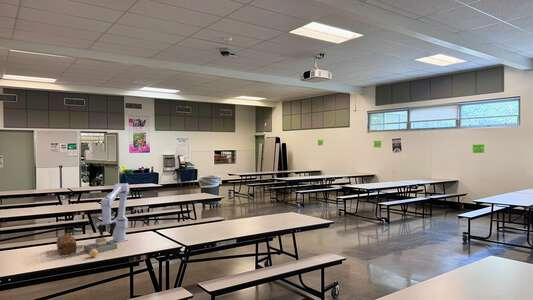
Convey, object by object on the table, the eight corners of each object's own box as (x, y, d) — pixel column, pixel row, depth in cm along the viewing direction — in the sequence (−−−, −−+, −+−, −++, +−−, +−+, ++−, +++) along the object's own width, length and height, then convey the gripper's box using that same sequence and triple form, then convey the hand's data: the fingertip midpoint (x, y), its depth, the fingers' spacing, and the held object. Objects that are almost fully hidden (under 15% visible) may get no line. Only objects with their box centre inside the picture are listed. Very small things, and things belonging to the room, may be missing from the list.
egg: (87, 257, 226) (87, 249, 226) (95, 255, 230) (95, 247, 230) (91, 258, 223) (91, 250, 223) (99, 256, 227) (99, 249, 227)
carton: (95, 249, 243) (95, 239, 243) (102, 247, 248) (102, 237, 248) (99, 250, 240) (99, 240, 240) (106, 248, 245) (106, 238, 245)
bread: (56, 249, 245) (56, 235, 245) (73, 247, 251) (73, 233, 251) (58, 256, 229) (58, 241, 230) (77, 253, 236) (77, 238, 236)
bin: (84, 250, 242) (84, 245, 242) (106, 245, 255) (106, 240, 255) (94, 253, 233) (94, 248, 233) (116, 248, 247) (116, 243, 247)
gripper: (99, 217, 239) (99, 237, 239) (119, 214, 251) (119, 233, 251) (94, 216, 243) (94, 235, 243) (113, 213, 255) (113, 231, 255)
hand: (106, 234), depth 247 cm, fingers open, 7 cm apart
